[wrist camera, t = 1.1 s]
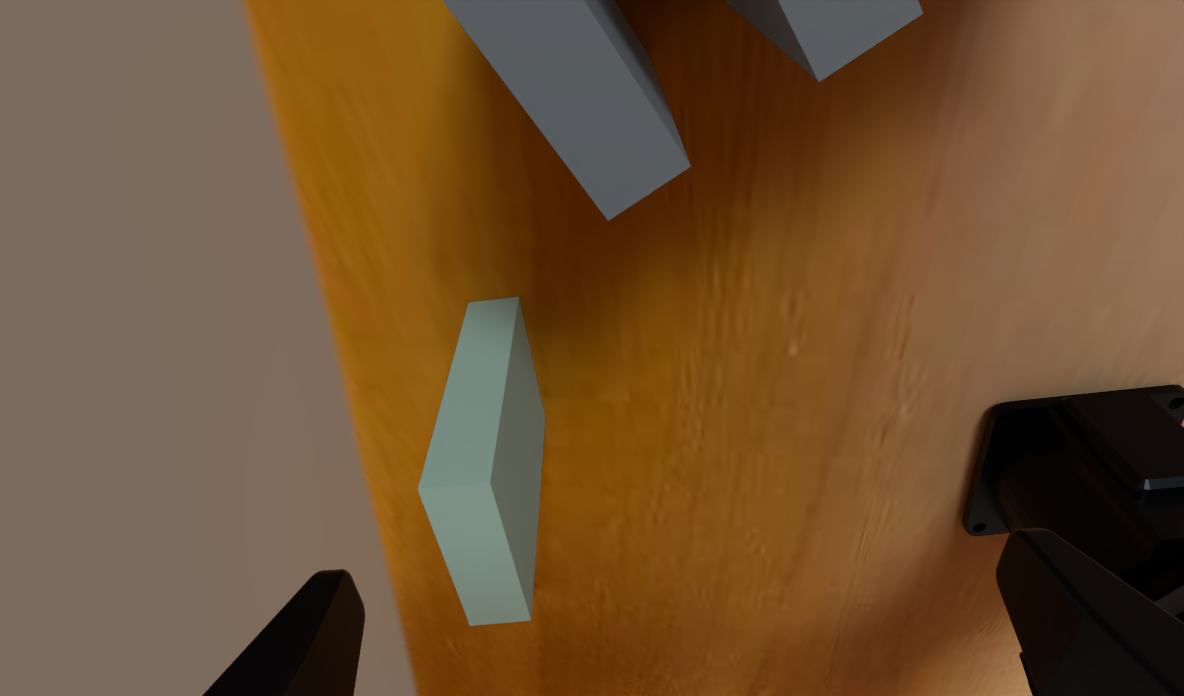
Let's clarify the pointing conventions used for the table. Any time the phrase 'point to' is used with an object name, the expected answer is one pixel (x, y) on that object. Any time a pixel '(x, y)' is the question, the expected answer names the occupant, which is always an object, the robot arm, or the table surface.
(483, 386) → the sage domino
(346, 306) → the table surface
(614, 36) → the domino
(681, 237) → the table surface
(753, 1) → the domino
